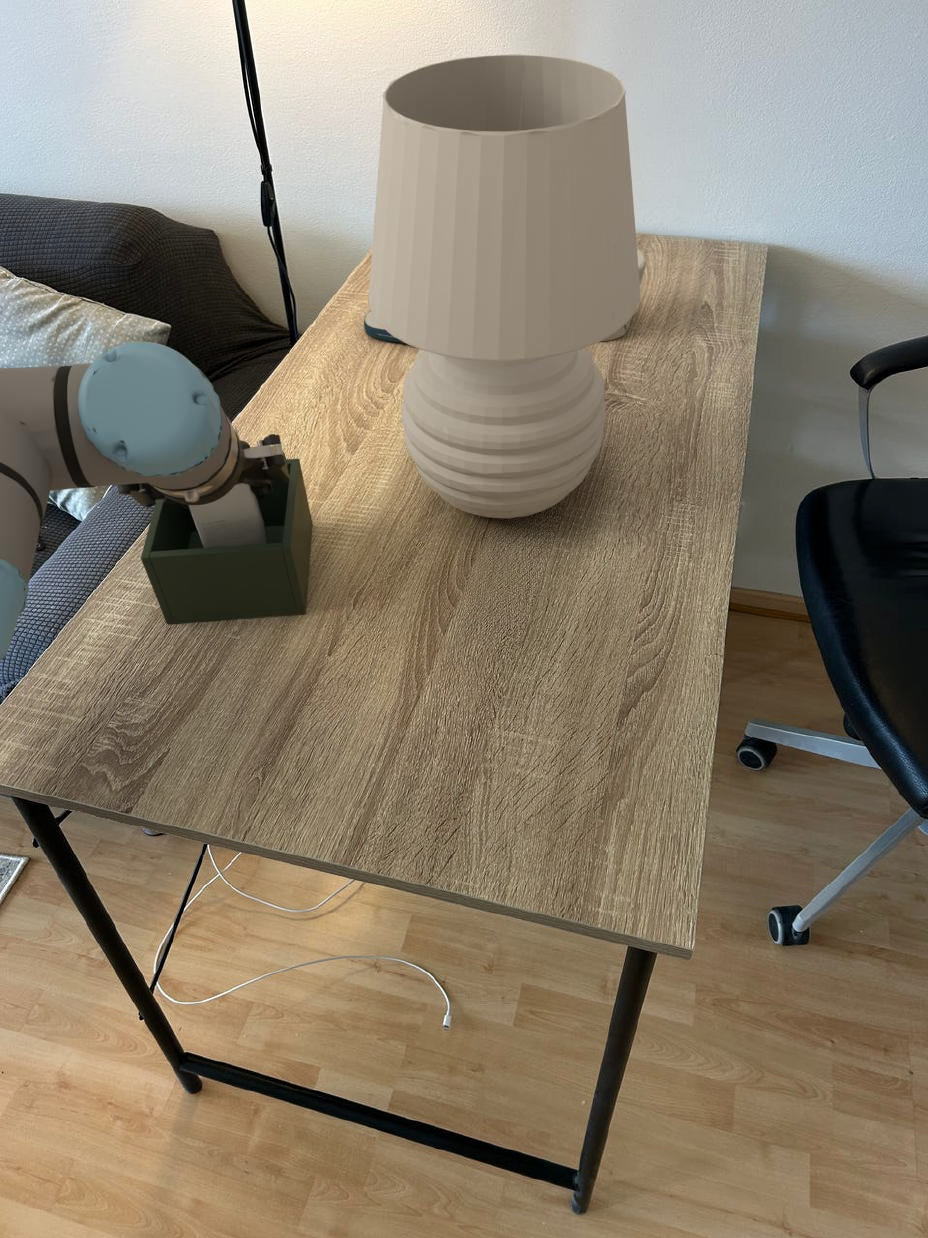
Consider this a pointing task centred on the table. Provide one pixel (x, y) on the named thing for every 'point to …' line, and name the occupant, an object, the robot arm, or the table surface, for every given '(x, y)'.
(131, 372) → the robot arm
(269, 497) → the dark green open box
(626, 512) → the table surface
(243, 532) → the cosmetic box
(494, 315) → the table lamp
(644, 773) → the table surface
